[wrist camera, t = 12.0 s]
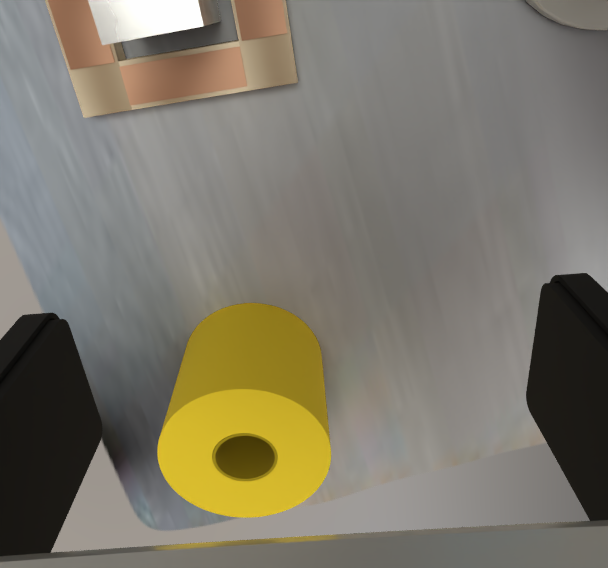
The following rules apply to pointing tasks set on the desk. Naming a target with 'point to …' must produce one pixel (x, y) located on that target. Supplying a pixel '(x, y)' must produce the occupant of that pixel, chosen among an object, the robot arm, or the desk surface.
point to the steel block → (150, 17)
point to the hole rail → (174, 60)
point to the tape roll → (247, 414)
